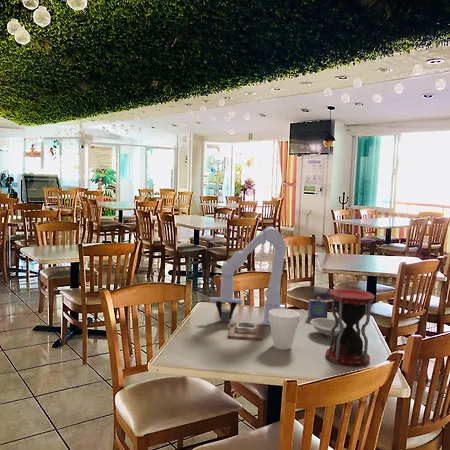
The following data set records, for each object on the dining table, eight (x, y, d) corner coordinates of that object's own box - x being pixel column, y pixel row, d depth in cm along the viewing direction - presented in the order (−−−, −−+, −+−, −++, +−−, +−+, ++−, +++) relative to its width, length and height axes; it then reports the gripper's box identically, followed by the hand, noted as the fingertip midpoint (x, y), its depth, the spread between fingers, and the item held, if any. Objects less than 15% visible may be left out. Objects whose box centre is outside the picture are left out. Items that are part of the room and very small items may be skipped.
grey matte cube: (230, 320, 222) (230, 309, 221) (229, 323, 218) (230, 312, 217) (221, 319, 222) (222, 309, 221) (220, 322, 218) (221, 311, 217)
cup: (273, 353, 182) (275, 318, 181) (262, 342, 194) (264, 309, 193) (303, 351, 186) (305, 316, 184) (290, 340, 198) (292, 308, 196)
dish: (354, 340, 201) (355, 329, 200) (324, 343, 195) (325, 331, 195) (330, 327, 217) (331, 316, 217) (302, 330, 212) (303, 319, 211)
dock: (262, 326, 215) (263, 319, 215) (262, 340, 196) (262, 333, 196) (231, 324, 216) (231, 317, 216) (228, 338, 197) (228, 330, 197)
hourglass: (316, 357, 180) (321, 291, 178) (340, 347, 191) (344, 286, 189) (355, 370, 169) (360, 301, 166) (377, 359, 180) (382, 294, 178)
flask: (307, 318, 230) (308, 296, 229) (307, 316, 233) (309, 295, 232) (327, 320, 228) (328, 298, 227) (327, 319, 231) (328, 297, 230)
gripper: (210, 290, 215) (208, 319, 216) (242, 292, 214) (241, 321, 215) (211, 286, 222) (210, 315, 223) (243, 288, 221) (241, 317, 222)
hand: (225, 318), depth 220 cm, fingers closed on grey matte cube, 4 cm apart
